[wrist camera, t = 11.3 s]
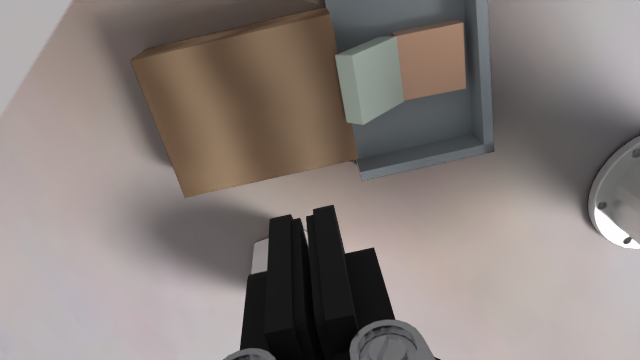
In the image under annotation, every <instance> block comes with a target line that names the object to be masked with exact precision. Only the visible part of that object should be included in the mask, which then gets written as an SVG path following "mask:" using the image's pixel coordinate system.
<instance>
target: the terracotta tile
mask: <svg viewBox="0 0 640 360" xmlns="http://www.w3.org/2000/svg"><path fill="white" fill-rule="evenodd" d="M392 36H397V43H398V52H399V61H400V69H401V78H402V86H403V95H404V101H405V100H410V99H415V98H420V97H425V96H430V95H435V94H440V93H445V92H450V91H455V90H460V89H466V74H465V48H464V23H463V22H461V21H459V20H451V21H446V22H441V23H436V24H431V25H426V26H421V27H416V28H411V29H406V30H401V31H396V32H392Z"/></svg>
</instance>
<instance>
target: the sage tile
mask: <svg viewBox="0 0 640 360" xmlns="http://www.w3.org/2000/svg"><path fill="white" fill-rule="evenodd" d="M335 59H336V64H337V70H338V76H339V81H340V87H341V93H342V98H343V104H344V110H345V115H346V121H347V123H354V124H360V125H364V124H366V123H367V122H369V121H371V120H373V119H374V118H376V117H378V116H379V115H381V114H383V113H385V112H386V111H388V110H390V109H392V108H393V107H395V106H397V105H399V104H400V103H402V102H404V95H403V86H402V78H401V69H400V61H399V52H398V43H397V36H386V37H378V38H375V39H373V40H370V41H368V42H366V43H363V44H361V45H358V46H356V47H354V48H351V49H349V50H346V51H344V52H342V53H339V54H337V55H335Z"/></svg>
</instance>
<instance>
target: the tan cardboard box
mask: <svg viewBox="0 0 640 360" xmlns="http://www.w3.org/2000/svg"><path fill="white" fill-rule="evenodd" d="M337 54H338V50H337V45H336V40H335V35H334V30H333V25H332V19H331V14H330V12H329V11H328V9H327V8H326V7H322V8H318V9H314V10H310V11H305V12H301V13H297V14H293V15H288V16H284V17H280V18H276V19H272V20H267V21H263V22H259V23H255V24H250V25H246V26H242V27H238V28H233V29H229V30H225V31H221V32H217V33H212V34H208V35H204V36H200V37H195V38H191V39H187V40H183V41H178V42H174V43H170V44H166V45H161V46H157V47H153V48H149V49H145V50H144V51H143V52H141V53H140V54H139V55H138V56H136V57H135V58H134V59H132V60H131V64H132V66H133V69H134V71H135V74H136V76H137V79H138V81H139V84H140V86H141V89H142V91H143V94H144V96H145V99H146V101H147V104H148V106H149V109H150V111H151V114H152V116H153V119H154V121H155V124H156V126H157V129H158V131H159V134H160V136H161V139H162V141H163V144H164V146H165V149H166V151H167V154H168V156H169V159H170V161H171V164H172V166H173V169H174V171H175V174H176V176H177V179H178V181H179V184H180V186H181V189H182V191H183V194H184V196H185V198H186V197H191V196H195V195H199V194H204V193H208V192H213V191H217V190H222V189H226V188H231V187H235V186H240V185H244V184H249V183H253V182H258V181H262V180H266V179H271V178H275V177H280V176H284V175H289V174H293V173H298V172H302V171H307V170H311V169H316V168H320V167H324V166H329V165H333V164H338V163H342V162H347V161H351V160H356V159H358V153H357V148H356V143H355V138H354V133H353V128H352V123H347V121H346V115H345V110H344V104H343V98H342V93H341V87H340V81H339V76H338V70H337V64H336V59H335V55H337Z"/></svg>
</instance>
